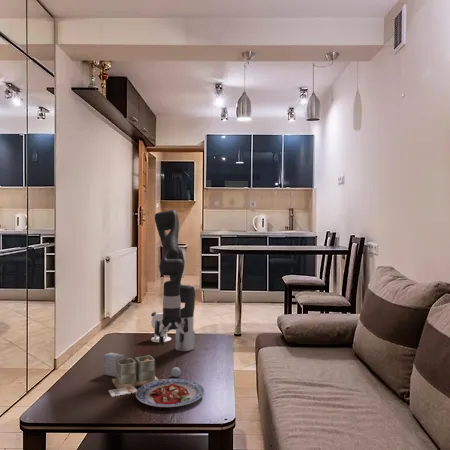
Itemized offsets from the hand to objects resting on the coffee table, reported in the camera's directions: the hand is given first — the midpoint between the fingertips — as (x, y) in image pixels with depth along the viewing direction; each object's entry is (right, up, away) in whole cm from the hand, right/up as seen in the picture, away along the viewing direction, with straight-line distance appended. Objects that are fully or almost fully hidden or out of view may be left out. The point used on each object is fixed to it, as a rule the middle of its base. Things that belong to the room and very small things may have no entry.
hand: (171, 343), depth 178 cm
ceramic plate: (+2, -15, -20) cm, 25 cm away
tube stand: (-14, -14, -6) cm, 21 cm away
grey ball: (+2, -12, 0) cm, 12 cm away
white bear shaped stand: (-13, -14, +57) cm, 60 cm away
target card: (-17, -14, -16) cm, 27 cm away
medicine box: (-25, -14, +2) cm, 29 cm away
